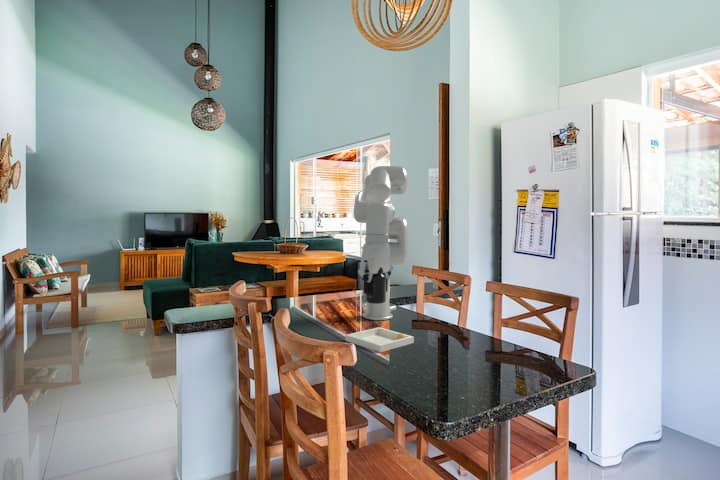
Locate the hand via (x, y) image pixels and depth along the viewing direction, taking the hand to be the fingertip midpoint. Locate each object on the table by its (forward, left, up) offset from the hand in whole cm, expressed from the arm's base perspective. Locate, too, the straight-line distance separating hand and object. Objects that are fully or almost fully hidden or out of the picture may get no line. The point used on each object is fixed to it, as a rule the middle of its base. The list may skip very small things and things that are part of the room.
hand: (375, 292), depth 152 cm
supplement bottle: (0, 0, -4) cm, 4 cm away
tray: (0, +3, -17) cm, 17 cm away
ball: (-5, +8, -16) cm, 19 cm away
